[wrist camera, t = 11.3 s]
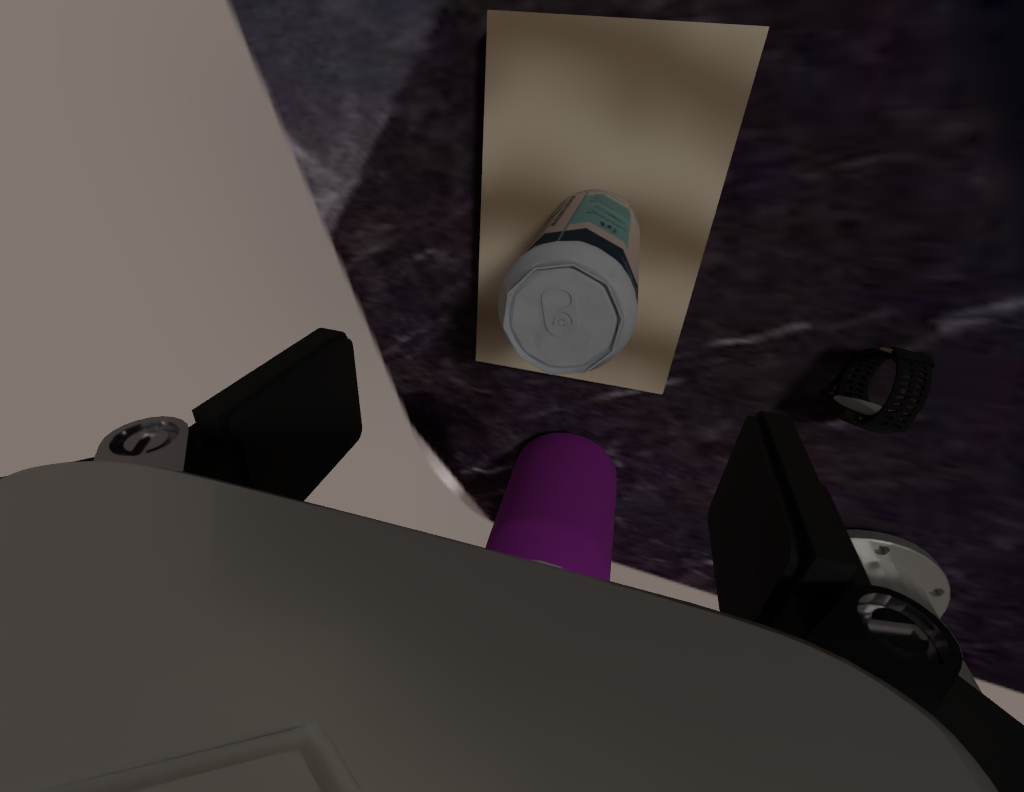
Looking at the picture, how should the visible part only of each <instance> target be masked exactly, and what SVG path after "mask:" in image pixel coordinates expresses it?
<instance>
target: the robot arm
mask: <svg viewBox="0 0 1024 792" xmlns="http://www.w3.org/2000/svg"><path fill="white" fill-rule="evenodd" d="M192 412H193V415H194V418H195V421H196V423H195V424H193V425H192V426H190V427H188V425H187V423H185V422H184V421H183V420H181V419H178V418H175V417H164V416H162V417H151V418H146V419H142V420H137V421H135V422H132V423H129V424H126V425H123V426H122V427H120V428H118V429H116V430H114V431H112V432H111V433H110V434H109V435H107V436H106V437H105V438H104V439H103V441H102V442H101V443H100V445H99V447H98V450H97V453H96V455H95V457H93V458H88V459H84V460H79V461H75V462H66V463H58V464H51V465H45V466H39V467H33V468H29V469H26V470H22V471H19V472H17V473H14V474H11V475H9V476H6V477H1V478H0V792H1024V725H1022V724H1021V723H1020V722H1019V721H1017V720H1016V719H1015V718H1013V717H1012V716H1011V715H1010V714H1008V713H1007V712H1006V711H1004V710H1003V709H1001V708H1000V707H999V706H998V705H996V704H995V703H994V702H993V701H991V700H990V699H989V698H987V697H986V696H985V695H984V694H982V692H981V691H980V689H979V687H978V685H977V684H976V682H975V680H974V678H973V676H972V674H971V673H970V671H969V669H968V667H967V666H966V664H965V662H964V660H963V656H962V653H961V650H960V646H959V644H958V642H957V641H956V639H955V638H954V636H953V635H952V633H951V632H950V630H949V629H948V628H947V627H946V626H945V625H944V624H943V623H942V621H941V620H940V617H941V616H942V615H943V613H944V612H945V611H946V609H947V606H948V603H949V601H950V586H949V583H948V580H947V578H946V575H945V574H944V572H943V571H942V569H941V568H940V566H939V565H938V563H937V561H936V560H935V559H933V558H932V557H931V556H930V555H929V554H928V553H927V552H926V551H925V550H923V549H922V548H920V547H918V546H917V545H915V544H914V543H912V542H909V541H907V540H904V539H902V538H899V537H897V536H893V535H889V534H885V533H881V532H876V531H867V530H858V529H850V530H846V528H845V526H844V524H843V522H842V519H841V517H840V515H839V513H838V511H837V508H836V506H835V504H834V502H833V500H832V498H831V495H830V493H829V491H828V490H827V488H826V487H825V486H823V485H822V484H821V483H820V481H819V478H818V476H817V474H816V472H815V470H814V467H813V465H812V463H811V461H810V458H809V456H808V454H807V452H806V449H805V447H804V445H803V443H802V441H801V438H800V436H799V434H798V432H797V429H796V427H795V425H794V423H793V420H792V419H791V417H790V416H786V415H781V414H775V413H770V412H765V411H760V412H758V414H757V415H756V416H750V415H749V416H748V417H747V418H746V420H745V422H744V424H743V427H742V429H741V431H740V434H739V436H738V439H737V441H736V444H735V446H734V449H733V451H732V453H731V456H730V458H729V461H728V463H727V466H726V468H725V471H724V473H723V475H722V478H721V480H720V483H719V485H718V488H717V490H716V493H715V495H714V497H713V500H712V502H711V505H710V508H709V513H708V526H709V533H710V541H711V549H712V556H713V564H714V571H715V579H716V587H717V594H718V602H719V609H720V611H716V610H713V609H710V608H706V607H703V606H699V605H696V604H693V603H690V602H686V601H682V600H678V599H674V598H671V597H667V596H663V595H659V594H655V593H652V592H648V591H645V590H641V589H637V588H633V587H630V586H625V585H622V584H618V583H615V582H611V581H607V580H603V579H600V578H596V577H592V576H588V575H585V574H581V573H577V572H573V571H570V570H566V569H562V568H558V567H555V566H551V565H547V564H543V563H540V562H536V561H532V560H528V559H525V558H521V557H517V556H513V555H510V554H506V553H502V552H498V551H494V550H491V549H487V548H482V547H479V546H475V545H471V544H467V543H464V542H460V541H456V540H452V539H448V538H445V537H441V536H437V535H433V534H429V533H426V532H422V531H418V530H414V529H410V528H406V527H402V526H398V525H395V524H391V523H387V522H383V521H379V520H375V519H372V518H367V517H363V516H360V515H356V514H352V513H348V512H344V511H340V510H336V509H332V508H328V507H324V506H321V505H316V504H312V503H309V502H305V501H304V500H305V499H306V498H307V497H308V496H309V495H310V494H311V492H312V491H313V490H314V489H315V488H316V487H317V486H318V485H319V483H320V482H321V481H322V480H323V479H324V478H325V477H326V476H327V475H328V474H329V472H330V471H331V470H332V469H333V468H334V467H335V466H336V465H337V463H338V462H339V461H340V460H341V459H342V458H343V457H344V456H345V455H346V453H347V452H348V451H349V450H350V449H351V448H352V447H353V446H354V444H355V443H356V442H357V441H358V440H359V438H360V435H361V432H362V422H361V413H360V404H359V395H358V386H357V378H356V368H355V359H354V351H353V344H352V341H351V340H350V339H347V336H346V334H345V333H344V332H341V331H336V330H330V329H325V328H319V329H317V330H316V331H314V332H312V333H311V334H309V335H308V336H306V337H304V338H303V339H301V340H300V341H299V342H297V343H295V344H294V345H292V346H291V347H289V348H287V349H286V350H284V351H283V352H281V353H280V354H278V355H277V356H275V357H273V358H272V359H270V360H269V361H267V362H266V363H264V364H263V365H261V366H259V367H258V368H256V369H255V370H254V371H252V372H250V373H249V374H247V375H246V376H244V377H242V378H241V379H239V380H238V381H236V382H235V383H233V384H232V385H230V386H229V387H227V388H226V389H224V390H222V391H221V392H219V393H218V394H216V395H215V396H213V397H212V398H210V399H209V400H207V401H205V402H204V403H202V404H201V405H199V406H198V407H196V408H195V409H193V410H192Z"/></svg>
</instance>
